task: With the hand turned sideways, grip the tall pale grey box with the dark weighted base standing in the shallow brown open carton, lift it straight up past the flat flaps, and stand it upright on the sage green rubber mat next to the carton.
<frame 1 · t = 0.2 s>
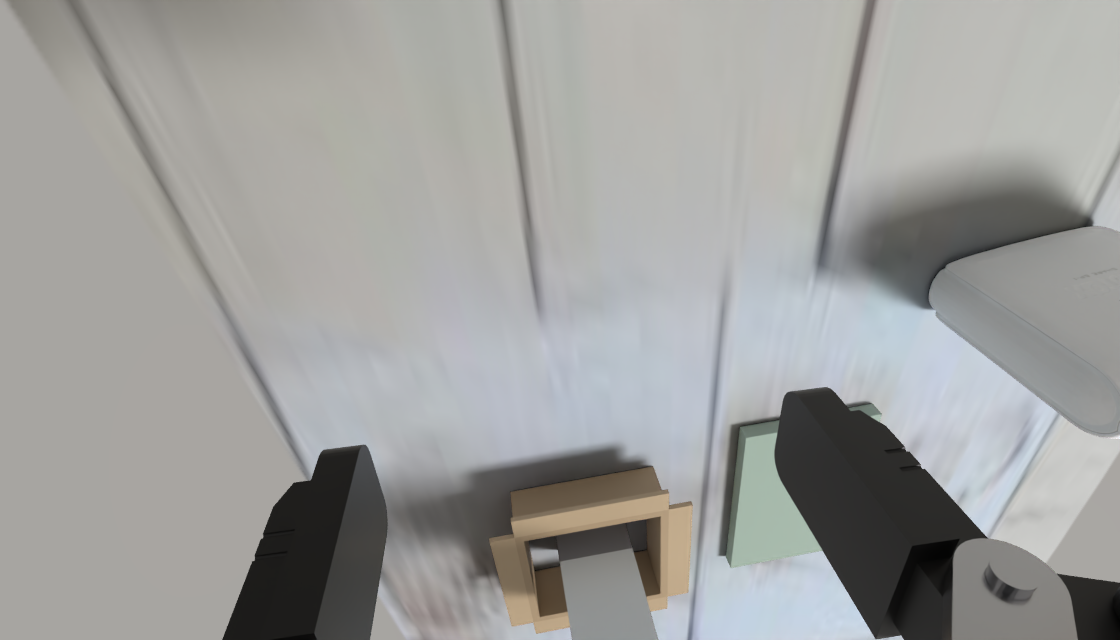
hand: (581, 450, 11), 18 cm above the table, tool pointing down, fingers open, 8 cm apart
photo printer: (1009, 266, 34), on the table
open carton: (587, 524, 41), on the table
rubber mat: (792, 486, 42), on the table
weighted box: (611, 638, 34), in the open carton
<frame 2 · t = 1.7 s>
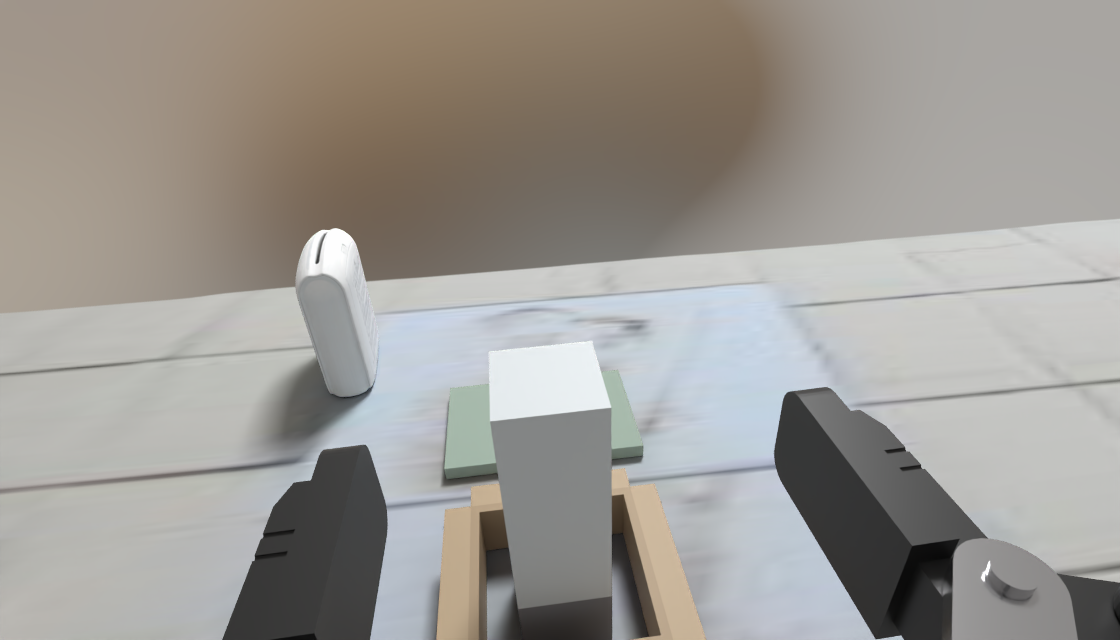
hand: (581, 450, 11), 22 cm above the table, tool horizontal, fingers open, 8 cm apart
photo printer: (357, 365, 53), on the table
open carton: (563, 606, 32), on the table
rubber mat: (540, 424, 45), on the table
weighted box: (555, 509, 28), in the open carton
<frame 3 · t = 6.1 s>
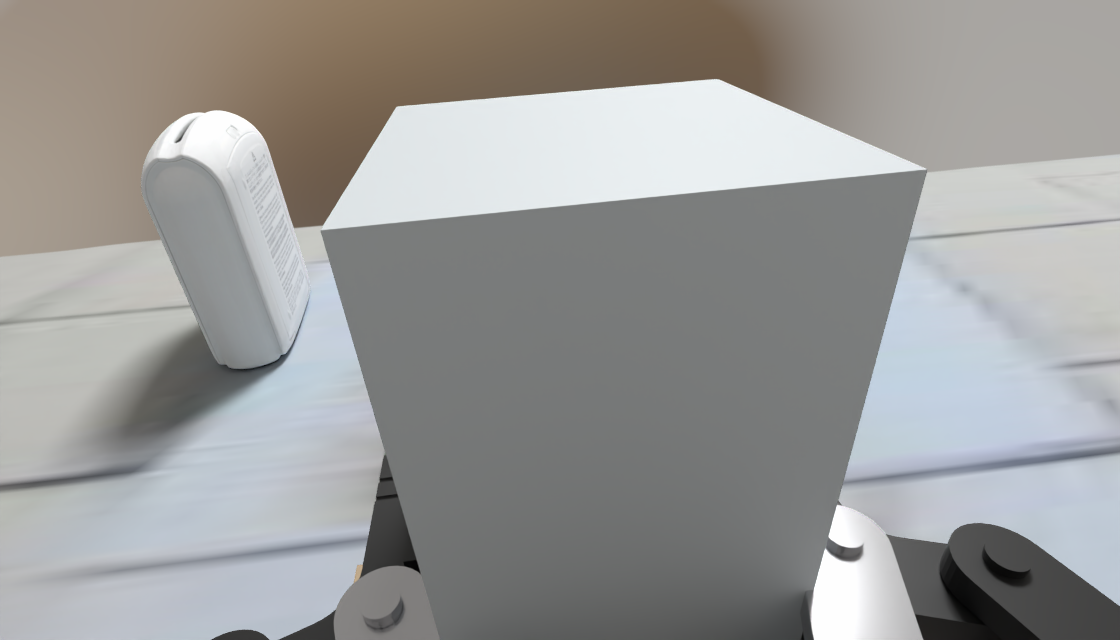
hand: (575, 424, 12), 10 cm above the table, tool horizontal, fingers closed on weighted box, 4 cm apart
photo printer: (272, 327, 36), on the table
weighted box: (602, 585, 10), in the open carton, touching gripper
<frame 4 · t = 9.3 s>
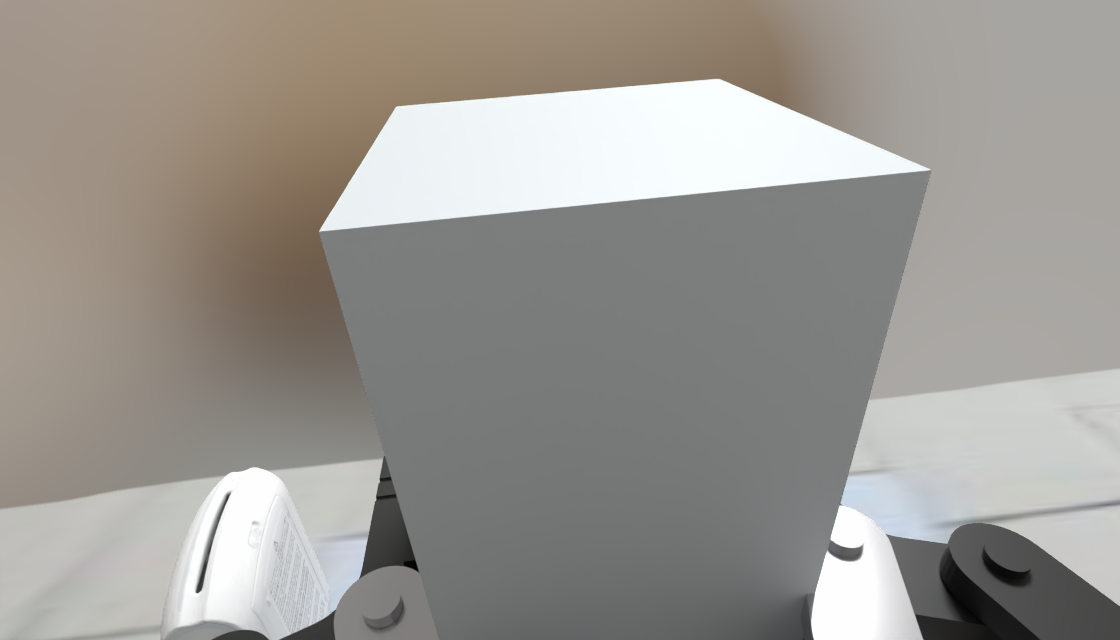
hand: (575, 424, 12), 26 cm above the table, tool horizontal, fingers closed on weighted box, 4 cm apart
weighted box: (603, 587, 10), point 24 cm above the table, touching gripper
when the fingers open (12 cm above the table, at t = 12.7 s): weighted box drops 1 cm, resting on rubber mat.
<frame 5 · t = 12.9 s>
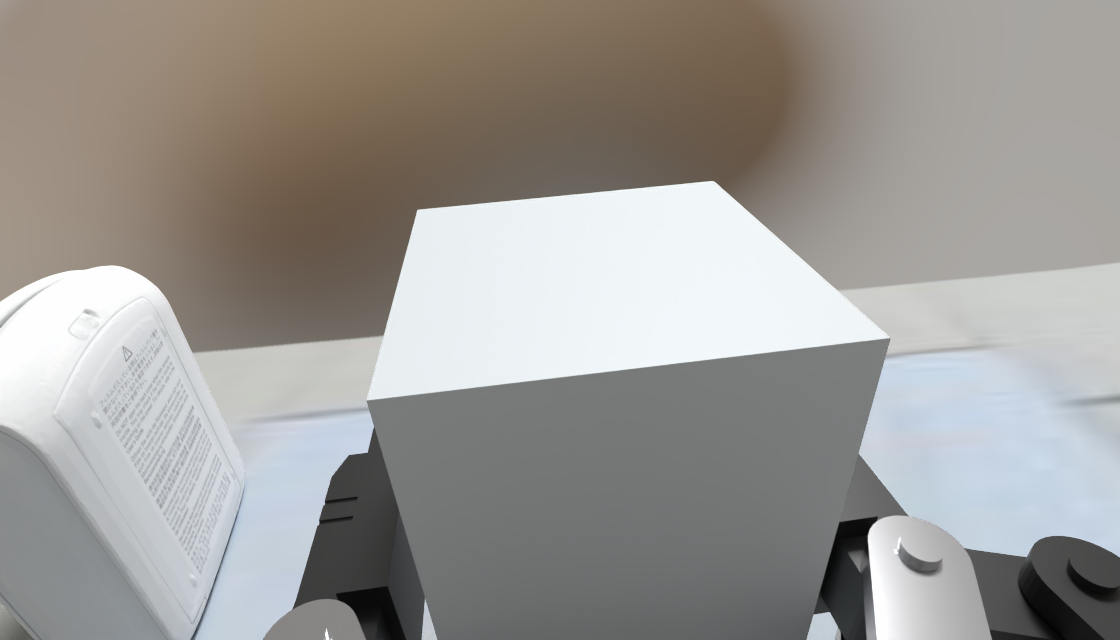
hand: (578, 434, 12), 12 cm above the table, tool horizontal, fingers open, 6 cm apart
photo printer: (180, 564, 24), on the table
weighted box: (605, 637, 11), on the rubber mat, point 9 cm above the table
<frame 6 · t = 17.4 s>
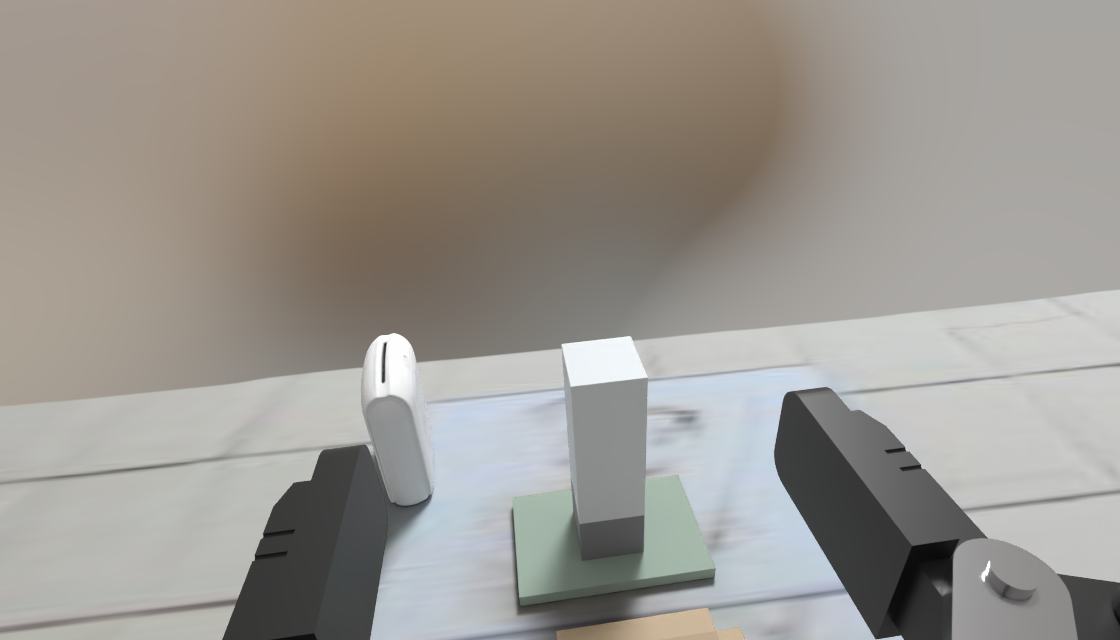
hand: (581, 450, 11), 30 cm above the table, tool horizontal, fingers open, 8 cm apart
photo printer: (412, 466, 53), on the table
rubber mat: (606, 538, 45), on the table
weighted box: (604, 454, 40), on the rubber mat, point 9 cm above the table
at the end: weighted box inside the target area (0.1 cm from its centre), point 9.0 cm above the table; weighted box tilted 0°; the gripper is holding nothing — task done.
